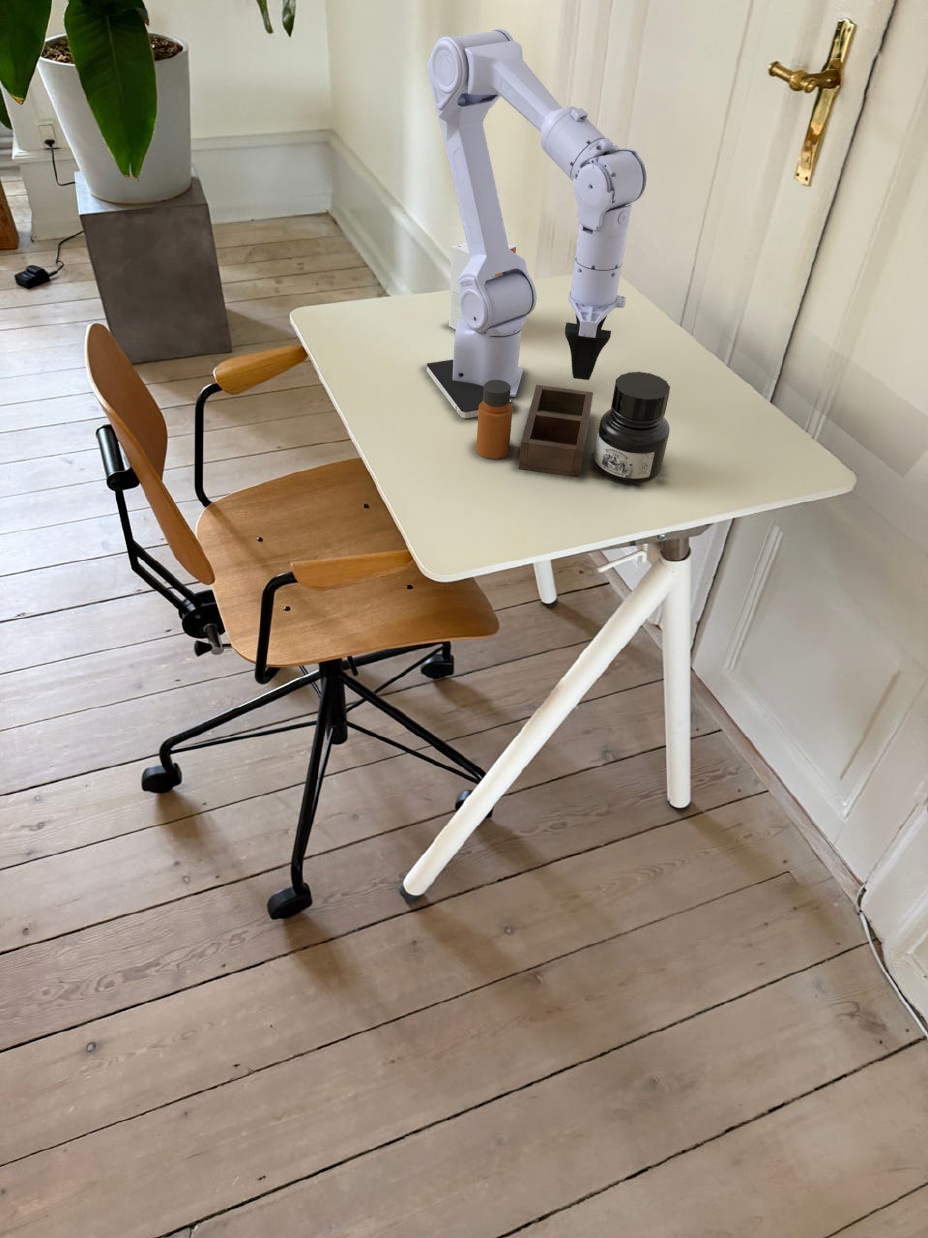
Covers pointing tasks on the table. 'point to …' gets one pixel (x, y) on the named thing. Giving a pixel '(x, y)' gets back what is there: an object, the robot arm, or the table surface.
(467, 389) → the smartphone
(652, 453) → the ink bottle
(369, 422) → the table surface
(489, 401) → the spice bottle
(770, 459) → the table surface
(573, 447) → the holder
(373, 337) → the table surface
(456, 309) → the small box
